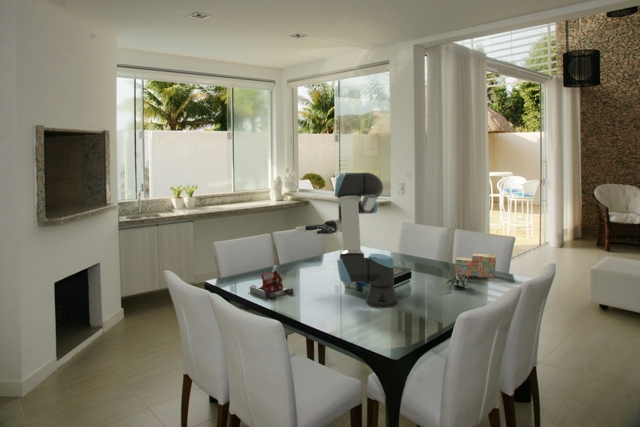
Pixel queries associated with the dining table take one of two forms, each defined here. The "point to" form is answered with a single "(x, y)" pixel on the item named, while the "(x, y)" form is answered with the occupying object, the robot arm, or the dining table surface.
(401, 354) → the dining table surface
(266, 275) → the red plastic toy vehicle
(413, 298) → the dining table surface
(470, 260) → the stack of blocks
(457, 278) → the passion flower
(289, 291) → the chassis bay
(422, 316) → the dining table surface
